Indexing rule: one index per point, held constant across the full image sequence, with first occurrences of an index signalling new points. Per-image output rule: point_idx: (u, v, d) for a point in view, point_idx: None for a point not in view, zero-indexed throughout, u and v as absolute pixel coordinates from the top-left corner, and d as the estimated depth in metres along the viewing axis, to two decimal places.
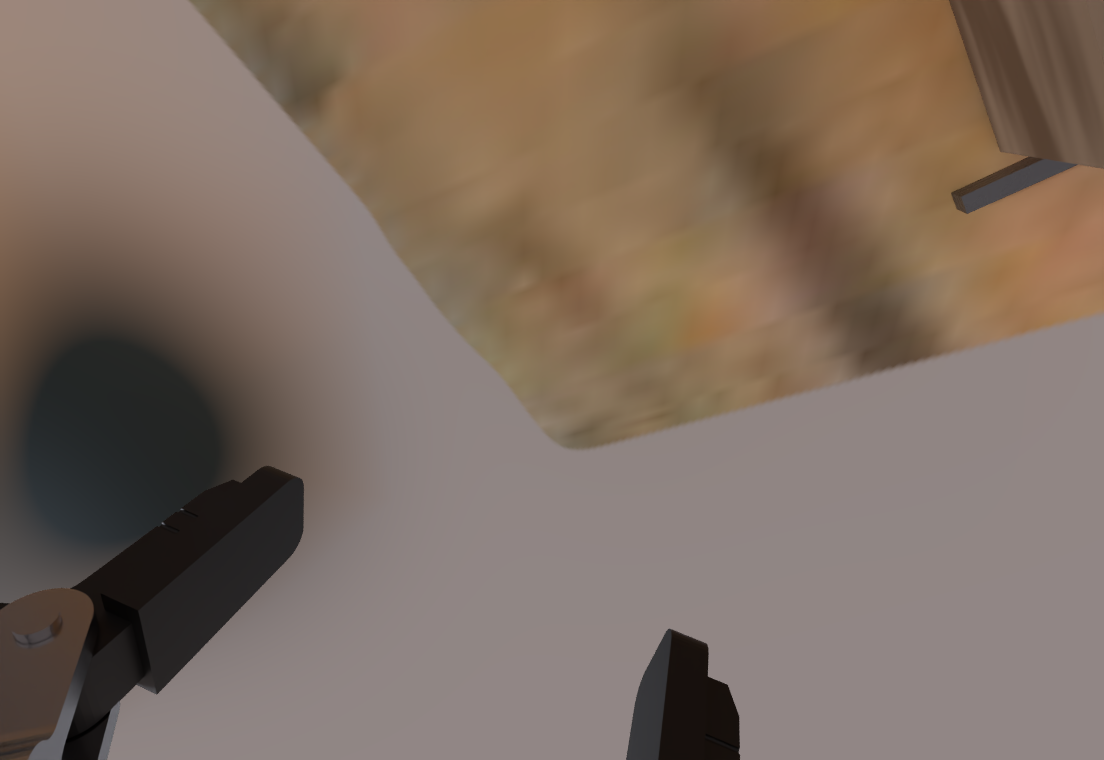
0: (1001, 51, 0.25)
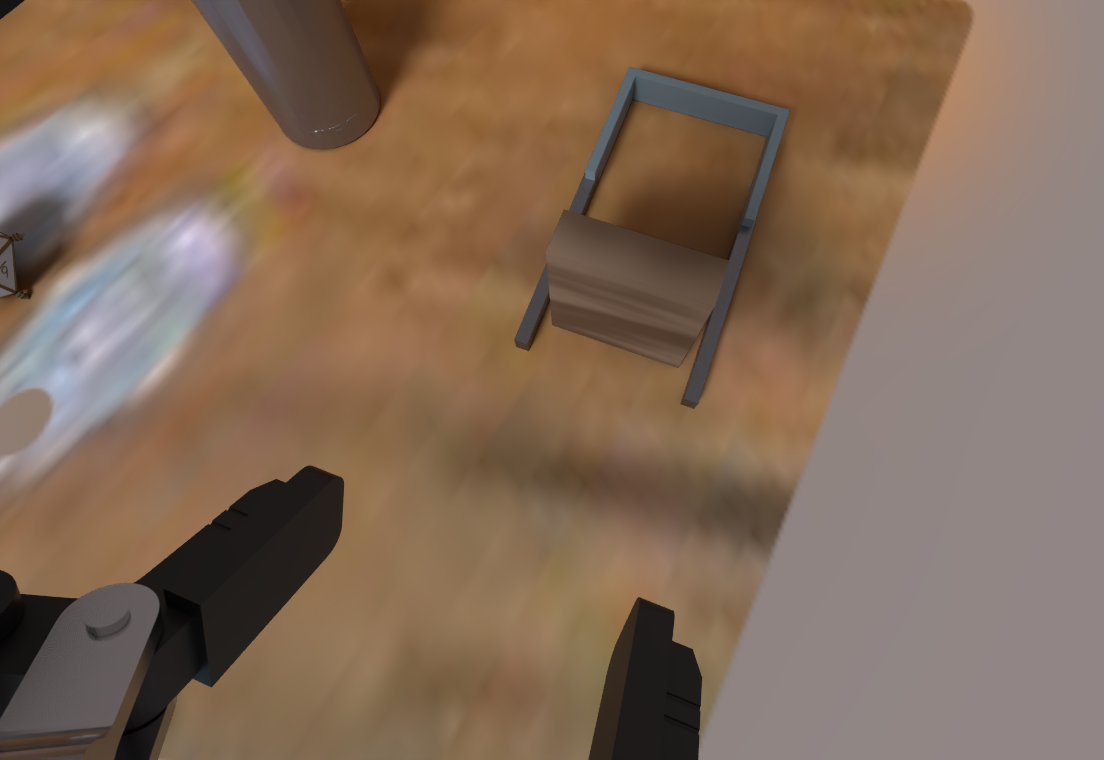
0: (616, 326, 0.38)
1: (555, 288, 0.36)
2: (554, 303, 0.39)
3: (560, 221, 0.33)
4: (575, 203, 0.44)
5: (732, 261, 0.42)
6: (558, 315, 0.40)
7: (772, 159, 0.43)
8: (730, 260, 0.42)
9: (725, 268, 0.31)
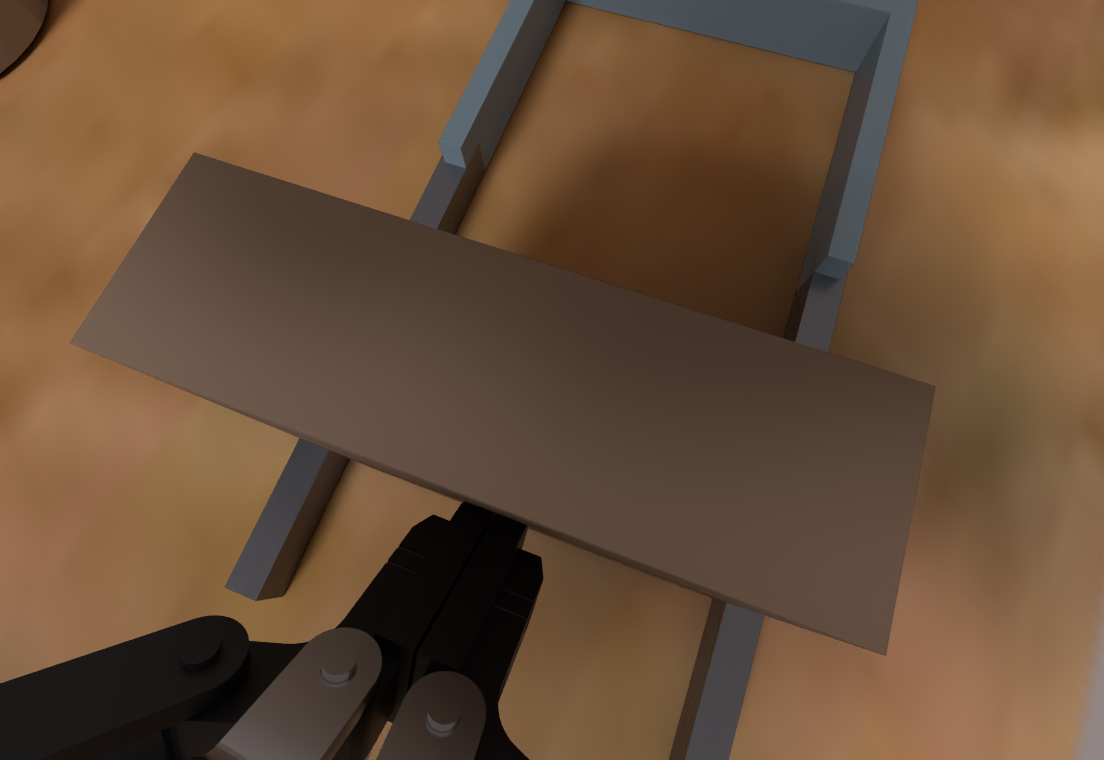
0: None
1: (279, 429, 0.11)
2: None
3: (166, 202, 0.07)
4: (417, 221, 0.19)
5: None
6: None
7: (886, 112, 0.18)
8: None
9: (919, 427, 0.06)
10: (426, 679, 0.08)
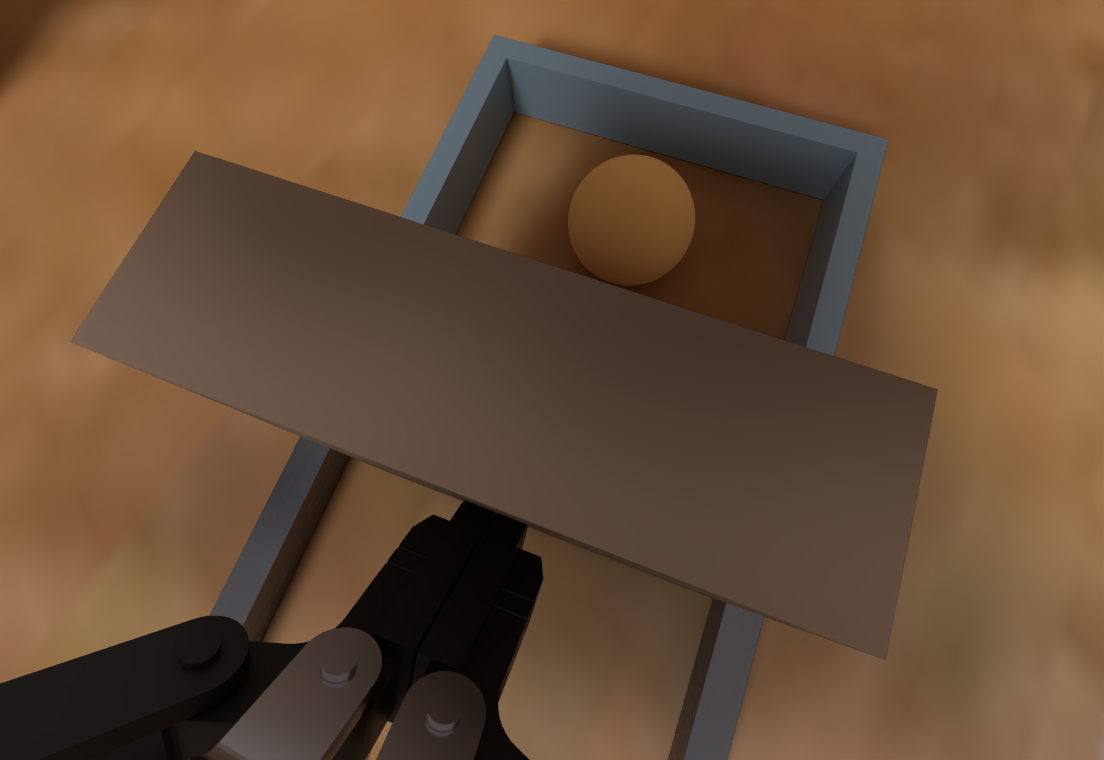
0: None
1: None
2: None
3: (167, 201, 0.07)
4: None
5: None
6: None
7: (849, 273, 0.16)
8: None
9: (921, 431, 0.06)
10: (426, 679, 0.08)
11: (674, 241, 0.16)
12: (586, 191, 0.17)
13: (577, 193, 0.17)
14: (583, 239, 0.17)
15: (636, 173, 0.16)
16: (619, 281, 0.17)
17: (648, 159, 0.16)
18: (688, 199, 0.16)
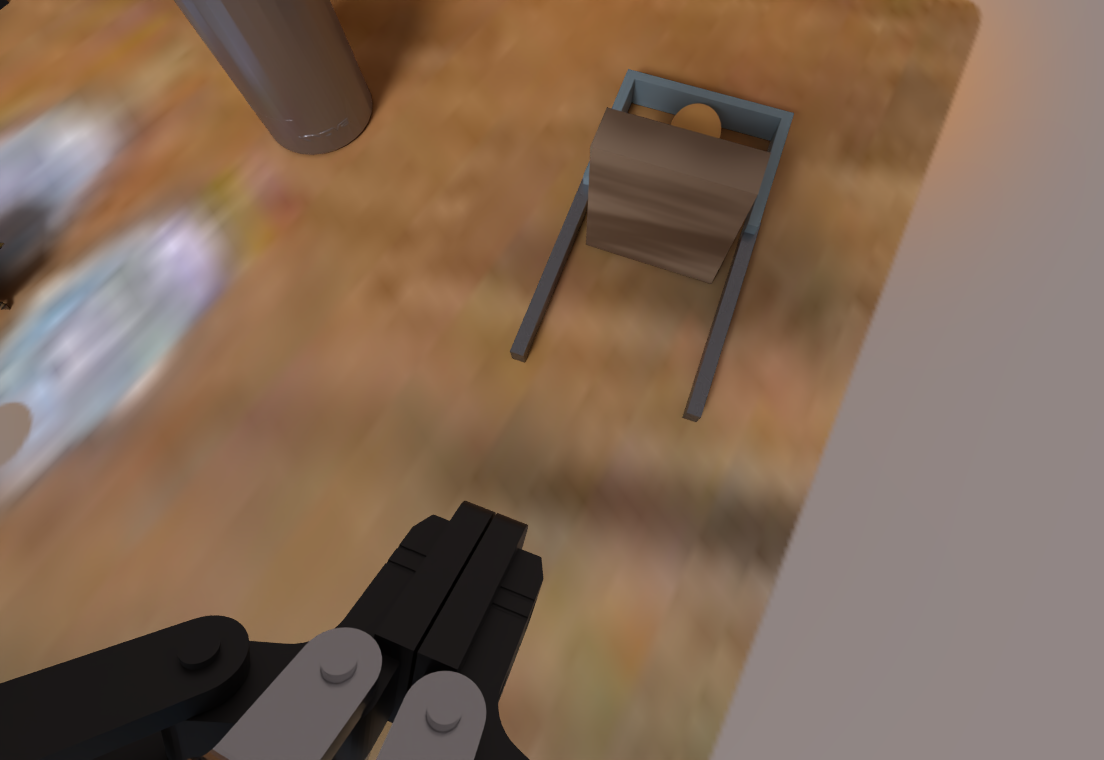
0: (653, 236, 0.39)
1: (595, 194, 0.37)
2: (591, 215, 0.39)
3: (604, 118, 0.33)
4: (573, 209, 0.43)
5: (735, 269, 0.41)
6: (594, 230, 0.41)
7: (776, 164, 0.42)
8: (733, 268, 0.41)
9: (767, 159, 0.32)
10: (426, 679, 0.08)
11: (718, 124, 0.42)
12: (682, 108, 0.43)
13: None
14: (683, 118, 0.42)
15: None
16: None
17: None
18: None
